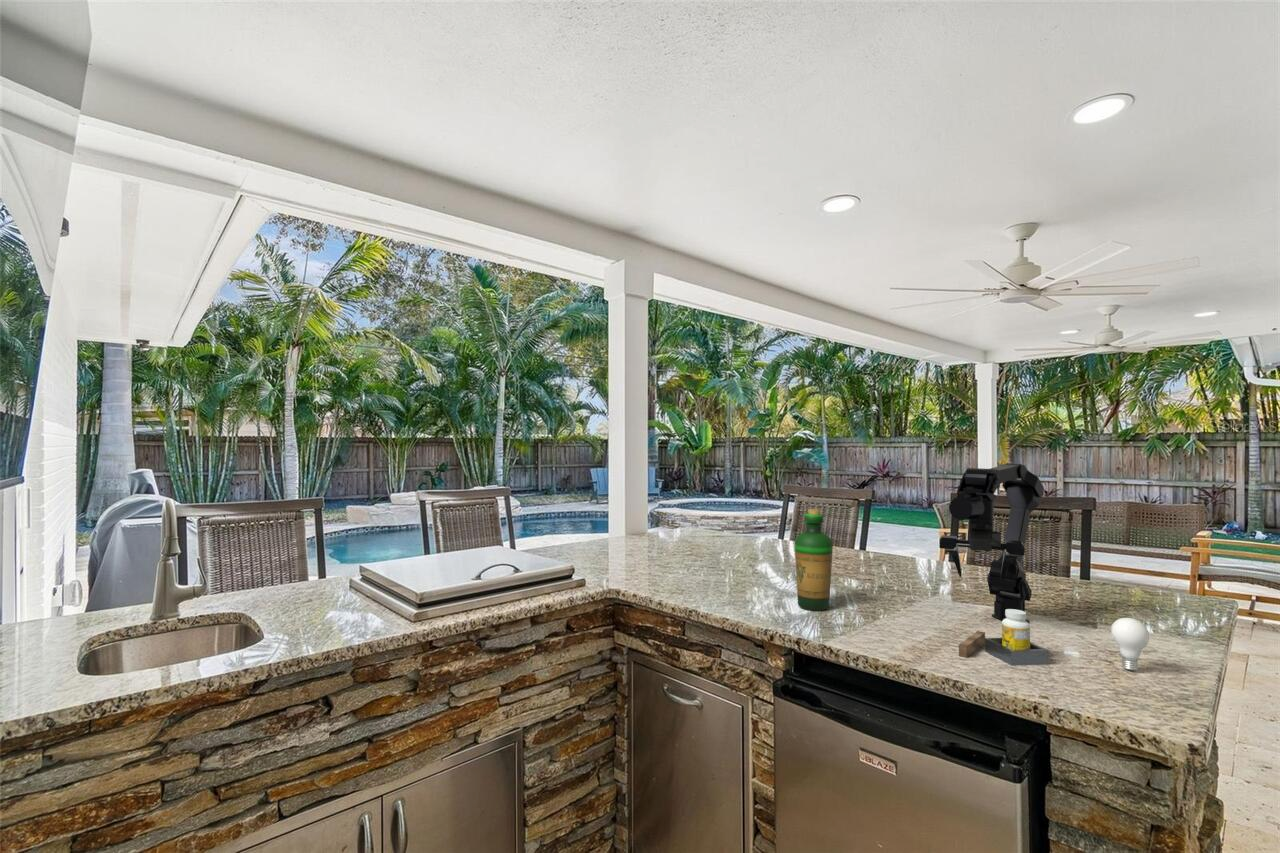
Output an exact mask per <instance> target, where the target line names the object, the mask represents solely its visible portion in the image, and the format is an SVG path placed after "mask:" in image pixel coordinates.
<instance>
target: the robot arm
mask: <svg viewBox="0 0 1280 853" xmlns="http://www.w3.org/2000/svg"><path fill="white" fill-rule="evenodd" d="M964 471H965V472H964V473H963V474H962V477H961V480H960V482H959V485H958V487H957V490H956V497H954V498H953V499H952V500H951V501H950V503H949V504H948V509H949V513H950V514H951V516H952V517H953V518H954V519H956V520H958V521H967V539H959V538H958V536H957V535H945V534H942V535H941V536H940V538H939V540H938V541H939V546H938V548H939V549H944V551H945V552H946V553H948V554H949V555H950V556H951V558H952V560H953V562H954V565H955V568H956V571H957V573H958V576H959V578H962V565H961V557H960V549H959V547H960V548H961V547H962V548H969V549H970V550H971V551H984V552H992V551H993V550H996V551H1001V555H1000V557H999V558H998V559H997V560H994V559H993V560H992V561H991V562H990V569H989V571H988V574H987V586H988V591H989V592H988V593H989V594H990V595H991V596H995V600H994V602H993V603H994V604H993V609H994V611H993V613H991V617H993V618H995V619H997V620H999V621H1001V622H1002V621H1003V620H1004V619H1005V618H1007V617H1006V615H1005V610H1006V609H1016V610H1021V611H1024V612H1026V602H1027V601H1028V602H1030V601H1031V598H1032V592H1033V591H1032V589H1031V587H1030V585H1029V583H1028V581H1027V579H1026V578H1027V573H1026V571H1025V568H1024V566H1023V564H1022V558H1023V556H1025V544H1026V538H1027V534H1028V527H1029V523H1030V519H1031V518H1030V517H1031V513H1032V512H1033V511H1034V510H1035V509H1036V508H1037V507H1038V506H1040V504H1041V500H1042V497H1043V496H1044V492H1045V488H1044V485H1043V483H1042V481H1041V479H1040V478H1039V477H1038V476H1037V475H1035V474H1034V473H1032V472H1031V471H1029V470H1028V468H1027V467H1026V465H1025V464H1022V463H1004V464H1003V465H1002V464H1001V465H999V466H995V467H990V468H978V467H977V468H974V467H968V468H966V470H964ZM1000 484H1002V485H1000ZM1001 486H1002V488H1003V490H1004V491H1005V493H1006V495H1005V498H1006V500H1007V502H1008V504H1009V506H1010V510H1009V515H1008V520H1007V524H1006V530H1005V535H1004V539H1003V542H1002V532H1001V531H996V530H995V528H994V526H995V525H994V521H995V519H994V516H995V513H994V510H995V508H994V506H995V503H994V500H997V496H996V494H995V492H996V491H997V490H998V489H999V488H1000V487H1001ZM1025 621H1026V622H1028V623H1030V619H1027V618H1026V620H1025Z"/></svg>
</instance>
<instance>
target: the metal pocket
mask: <svg viewBox="0 0 1280 853" xmlns="http://www.w3.org/2000/svg"><path fill="white" fill-rule="evenodd" d="M984 652H985V653H988V654H989V655H991V656H993V657H995V658H997V659H999V660H1000V661H1001V662H1002V661H1003V662H1004V663H1006V664H1008V665H1010V666H1034V665H1035V666H1037V665H1049V663H1050V662H1049V658H1050V656H1049V654H1050V652H1049V650H1048V649H1046V648H1044V647H1042V646H1040V645H1038V644H1036V643H1034V642H1031V641H1030V649H1029V650H1011V649H1009V648H1007V647H1005V646H1003V645H1002V637H985V643H984Z"/></svg>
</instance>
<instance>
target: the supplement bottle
mask: <svg viewBox="0 0 1280 853" xmlns="http://www.w3.org/2000/svg"><path fill="white" fill-rule="evenodd" d="M1005 615H1006V617H1007V618H1005V619H1004V620H1003V621H1002V620H1001V638H1002V645H1003V646H1005V647H1007V648H1009V649H1011V650H1029V649H1030V642H1031V626H1030V624H1029V623H1030V622H1026V621H1025V620H1026V619H1027V612H1026V611H1025V612H1024V611H1021V610H1016V609H1006V610H1005Z"/></svg>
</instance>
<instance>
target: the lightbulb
mask: <svg viewBox="0 0 1280 853" xmlns="http://www.w3.org/2000/svg"><path fill="white" fill-rule="evenodd" d="M1149 632H1150V631H1149V630H1148V628H1147V626H1146V625H1145V624H1144V623H1143V622H1141V621H1139V620H1138V619H1136V618H1132V617H1120V618H1118V619H1116V620H1115V621H1114V622H1113V623H1112V624H1111V627H1110V633H1111V636H1112V637H1111V638H1112V639H1113V640H1114V641H1115V643H1116V645H1117V646H1118V649H1119V652H1120V655H1121V667H1122V668H1123V669H1125V671H1128V672H1135V671H1137V670H1139V658H1140V656H1141V653H1142V650H1143V649H1144V648H1145V647H1146V646H1147V644H1149V641H1150V633H1149Z"/></svg>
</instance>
